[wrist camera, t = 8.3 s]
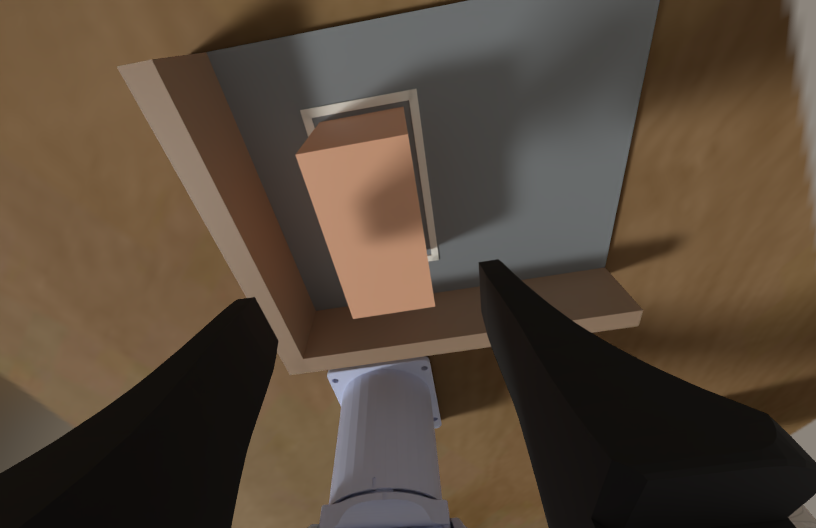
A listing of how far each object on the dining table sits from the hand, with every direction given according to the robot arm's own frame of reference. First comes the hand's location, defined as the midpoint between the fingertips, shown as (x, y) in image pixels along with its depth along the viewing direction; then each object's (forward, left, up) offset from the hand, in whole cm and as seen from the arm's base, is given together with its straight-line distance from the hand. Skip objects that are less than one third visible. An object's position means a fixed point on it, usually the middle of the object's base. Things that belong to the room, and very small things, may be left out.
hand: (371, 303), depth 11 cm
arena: (0, -3, -9) cm, 10 cm away
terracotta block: (0, 0, -9) cm, 9 cm away
